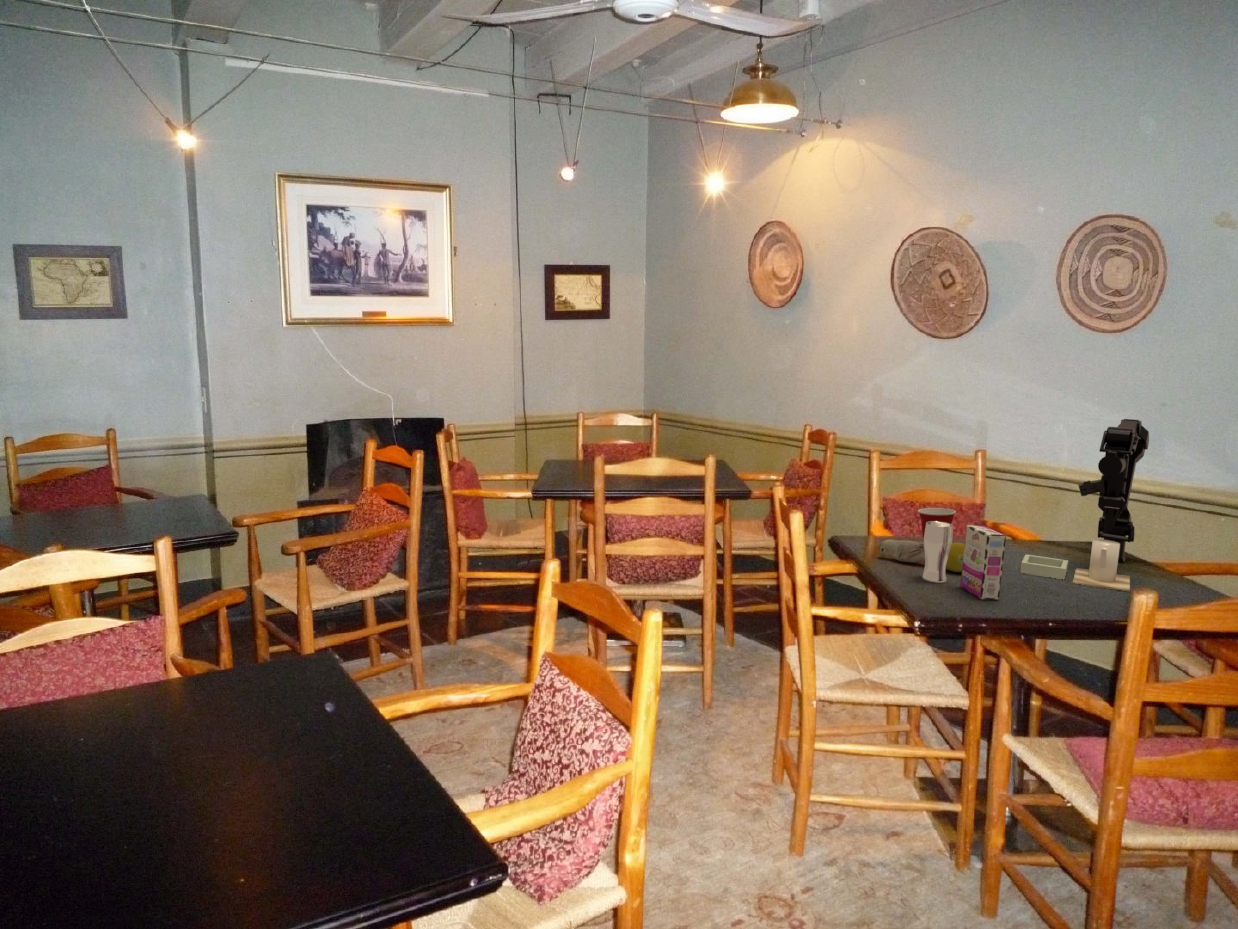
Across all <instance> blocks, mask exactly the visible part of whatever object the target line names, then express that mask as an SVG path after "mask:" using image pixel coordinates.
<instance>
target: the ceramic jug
mask: <svg viewBox="0 0 1238 929" xmlns="http://www.w3.org/2000/svg"><path fill="white" fill-rule="evenodd" d="M1119 549H1120V543H1118V542H1114V541H1110V540H1103V539H1102V538H1101V539H1100V538H1098V539H1097V538H1095V539H1093V540H1092V543H1091V551H1090V552H1091V553H1090V558H1089V560H1090V561H1089V568H1088V570H1089V575H1088V577H1089V578H1090V579H1093V580H1097V581H1102V582H1115V581H1116V574H1118V573H1117V570H1118V565H1119V562H1118V557H1119Z"/></svg>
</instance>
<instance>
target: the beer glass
mask: <svg viewBox="0 0 1238 929" xmlns="http://www.w3.org/2000/svg"><path fill="white" fill-rule="evenodd" d="M953 533H954V532H953V524H952V523H951V524H950V523H946V522H939V521H929V522H926V527H925V533H924V556H925V559H924V569H923V572H922V577H921V579H923V581H926V582H931V583H937V584H940V583H941V584H942V583H946V582H947V569H946V565H947V561H948V557H949V554H950V550H951V546H952V543H953V536H954V535H953Z"/></svg>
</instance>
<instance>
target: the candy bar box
mask: <svg viewBox="0 0 1238 929" xmlns="http://www.w3.org/2000/svg"><path fill="white" fill-rule="evenodd" d="M965 530H966V531H965V539H964V544H965V547H964V557H963V566H962V572H961V577H960V578H961V579H960V587H961V588H962V589H963V590H964V591H966V592H968V593H969V594H971V595H973V596H975V597H976V598H978V599H980V600H983V601H985V600H986V601H999V600H1000V592H1001V586H1002V585H1001V584H1002V574H1003V565H1004V557H1005V548H1006V539H1007V535H1006V534H1004V533H1001V532H999V531H996V530H994V529H992V528H990V527H988V526H985V525H980V524H979V525H975V524H974V525H972V524H971V525H970V524H967V525H966V529H965Z"/></svg>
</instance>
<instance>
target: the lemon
mask: <svg viewBox="0 0 1238 929" xmlns="http://www.w3.org/2000/svg"><path fill="white" fill-rule="evenodd" d="M964 547H965V543H962V542H952V546H951V550H950V554H949V557H948V561H947V565H946V571H947V570H948V571H950V572H952V573H962V566H963V557H964Z"/></svg>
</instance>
